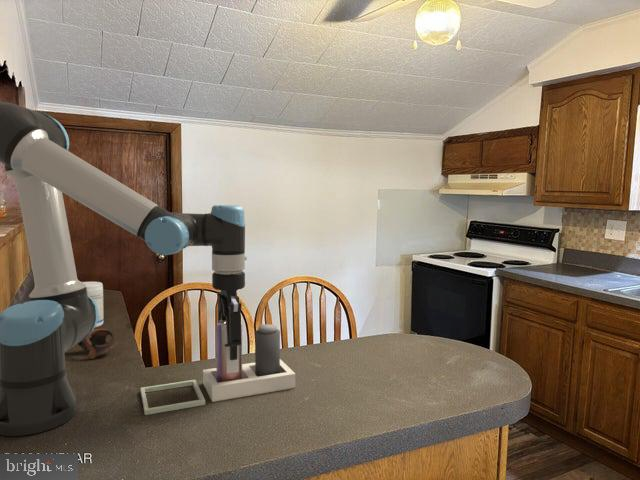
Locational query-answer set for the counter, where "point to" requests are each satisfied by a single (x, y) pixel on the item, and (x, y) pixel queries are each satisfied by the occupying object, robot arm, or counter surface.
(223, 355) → the beverage can
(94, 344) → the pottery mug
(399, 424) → the counter surface
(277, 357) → the single round plug
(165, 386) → the rectangular frame
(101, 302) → the supplement tub
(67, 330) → the robot arm
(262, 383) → the white divided tray
